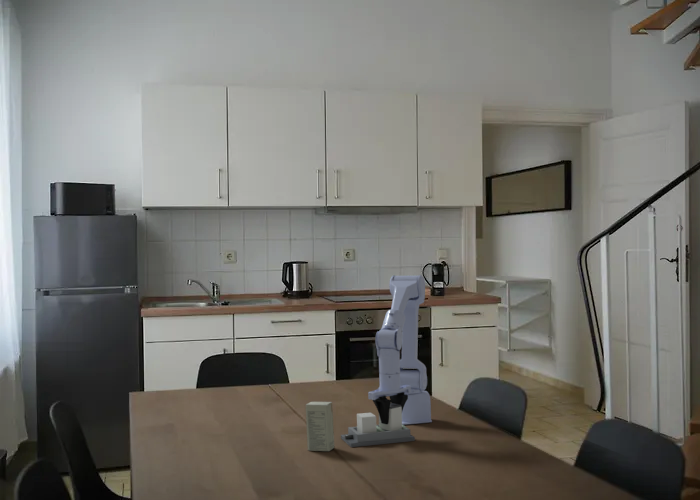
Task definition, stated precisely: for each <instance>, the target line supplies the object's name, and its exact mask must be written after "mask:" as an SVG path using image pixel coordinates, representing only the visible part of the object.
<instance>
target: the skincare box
mask: <svg viewBox="0 0 700 500" xmlns="http://www.w3.org/2000/svg"><path fill="white" fill-rule="evenodd" d="M333 410H334V409H333V402H332V401H310V402H308V403H306V404H305V421H306V422H305V423H306V441H307V451H309V452H310V451H312V452H314V451H315V452H330V451H332V450H333V449H334V448H335V431H334V411H333Z"/></svg>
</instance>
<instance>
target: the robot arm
mask: <svg viewBox="0 0 700 500" xmlns="http://www.w3.org/2000/svg"><path fill="white" fill-rule="evenodd" d="M389 293H390V294H391V297H392V301H391V308H390V309H388V310H387V311H386V313H385V316H384V319H383V322H382V326H381V328H380V329H379V331H378V330H377V332H376V334H375V339H374V340H375V346H376V347H375V348H376V354H377V357H378V373H379V377H378V379H379V387H377V389H374V390H372V391H368V393H367V394H368V396H367V397H368V398H367V399H368V400H372V402H373V404H374V405H375V408H376V410H377V412H378V417H379V416H380V419H381V423H382V424H388V422H389V408H390V404H391V403H394V404H399V405H401V407H402V425H404V426H405V425H415V424H426V423H432V422H433V420H432V410H431V409H432V407H431V396H430V393H429V392H428V391H427V390H426V389H427V386H428V376H427V367H426V365H425V364H424V363H423V362H422V361H421V360H419V359H418V346H419V345H418V344H419V343H418V341H419V340H418V338H419V337H418V336H419V335H418V333H419V310H420V305H422V304H424V303H425V299H426V283H425V277H424V275H422V274H418V275H414V274H413V275H395V274H394V275H393V274H392V275H391V277H390V279H389ZM400 350H401V351H400ZM400 352H401V356H400ZM400 357H401V358H400ZM388 397H389V399H388Z"/></svg>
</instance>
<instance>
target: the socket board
mask: <svg viewBox="0 0 700 500" xmlns="http://www.w3.org/2000/svg"><path fill="white" fill-rule="evenodd" d="M347 430H348V431H347V433H346V434H340V439H341V440H342V442H344V443H346V445H348V446H349V447H350V448H356V447H367V446H377V445H385V444H386V445H387V444H395V443H407V442H415V441H416V437H415V436H413V434H411V429H410V428H409V427H407V426H405V425H402V429H398V430H392V431H389V430H385V429H381V428H379V424H377V415H375V414H374V413H372V412H364V413H363V412H362V413H356V426H348V427H347Z"/></svg>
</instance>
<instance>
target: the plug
mask: <svg viewBox="0 0 700 500" xmlns="http://www.w3.org/2000/svg"><path fill="white" fill-rule="evenodd" d="M378 425H379V428H381V429H385V430H389V431H392V430H398V429H402V407H401V405H399V404H394V403H391V404H390V408H389V422H388V424H382V423H381V419H380V416H379V415H378Z"/></svg>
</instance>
